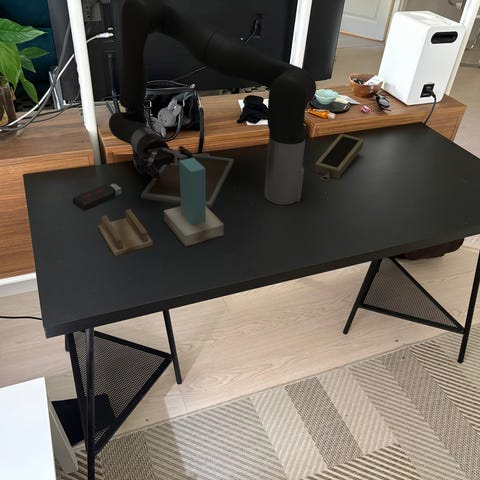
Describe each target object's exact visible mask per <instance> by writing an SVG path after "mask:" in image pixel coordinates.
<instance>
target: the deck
mask: <svg viewBox="0 0 480 480" xmlns="http://www.w3.org/2000/svg"><path fill="white" fill-rule="evenodd" d="M163 216H164V217H163V219H164V220H163V221H164V222H165V223H166V225H167V226H168V227H169V229H170V230H171V231H172V232H173V233H174V235H176V237H177V238H178V239H179V240H180V242H181V243H182V244H183V246H184V247H188V246H192V245H196V244H198V243H202V242H206V241H207V240H208V241H209V240H212V239H215V238H218V237H221V236H224V233H225V224H224V223H223V222H222V220H220V219H219V218H218V217H217V215H215V214H214V213H213V212H212V211H211V210H210V208H207V207H206V222H203V223H200V224H196V225H193V226H192V225H191V224H190V222H189V221H188V220H187V219H186V218H185V217H184V216H183V215H182V213H181V205H180V206H176V207H172V208H168V209H165V210H163Z"/></svg>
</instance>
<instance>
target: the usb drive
mask: <svg viewBox="0 0 480 480" xmlns="http://www.w3.org/2000/svg"><path fill="white" fill-rule="evenodd" d="M121 194H122V188H121V186H118V185H117V184H116V183H112V184H109V183H106V184H103V185H100V186H98V187H95V188H92V189H90V190H88V191H85V192H82V193H80V194H77V195H75V196H73V198H72V204H74V205H75V206H76V207H77V208H79V209H80V210H82V211H84V212H86V211H88V210H90V209H92V208H95V207H97V206H100V205H103V204H104V203H107V202H109V201H112V200H114V199H115V198H116V197H117V196H118V195H121Z"/></svg>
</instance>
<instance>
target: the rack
mask: <svg viewBox="0 0 480 480" xmlns="http://www.w3.org/2000/svg"><path fill="white" fill-rule="evenodd" d="M124 212H125V213H124V214H125V218H121V219H117V220H114V221H110V219H109V217H108V216H107V215H102V216H100V219H101V224H98V225H97V230H98V231H99V232H100V234H101V236H102V237H103V239H104V240H105V242H106V244H107V245H108V247H109V249H110V250H111V252H112V253H113V254H112V255H114V257H117V256H120V255H123V254H127V253H130V252H134V251H137V250H140V249H145V248H147V247H151V246H153V245H154V242H153V239H152V238H151V237H150V235H149V234H148V232H147V230H146V228H145V227H144V226H143V224H141V221H140V220H139V219H138V218H137V217H136V215H135V214H134V213H133V211H132V210H131V209H130V208H129V209H126V210H125V211H124Z"/></svg>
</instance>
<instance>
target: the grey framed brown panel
mask: <svg viewBox="0 0 480 480" xmlns="http://www.w3.org/2000/svg"><path fill="white" fill-rule="evenodd" d="M192 158H194V159H195V160H196V161H198V162H199V163H200V164H201V165H202V166H203V167H204V168H205V181H206V207H207V208H208V209H212V207H213V205H214V204H215V201H216V199H217V197H218V196H219V194H220V191H221V189H222V187H223V185H224V183H225V182H226V179H227V177H228V175H229V172H230V171H231V169H232V167H233V164H234V163H235V159H234V158H231V157H230V158H228V157H221V156H215V155H213V156H212V155H210V154H209V153H206V152H202V153H197V154H196V153H192ZM180 160H182V158H180ZM173 161H175V157H174V159H173ZM158 170H159V172H160V179H156V178H154V177H152V179H151V181H150V182H149V183H148V184H147V186H146V187H145V189H143V191H142V193H141V195H140V196H141V197H140V198H141V199H143V200H144V199H145V200H152V201H159V202H166V203H173V204H180V205H181V193H180V167H179V165H177V166H175V165H170V164H168V165H163V166H160V169H158Z"/></svg>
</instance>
